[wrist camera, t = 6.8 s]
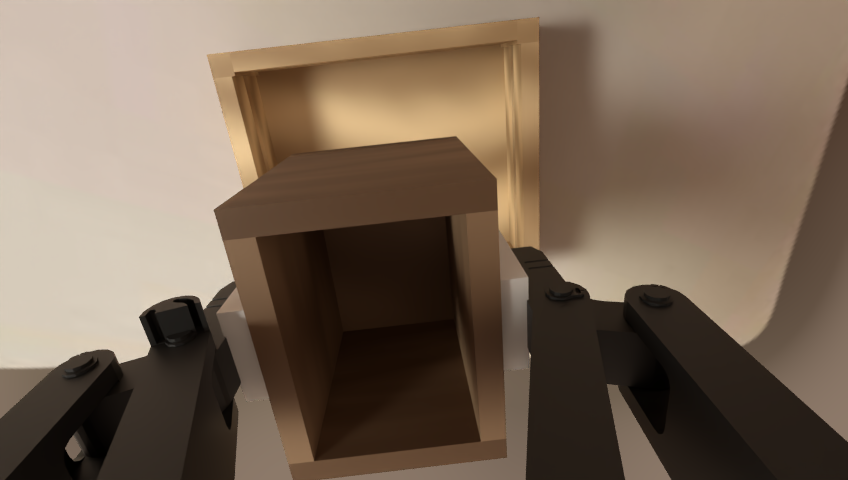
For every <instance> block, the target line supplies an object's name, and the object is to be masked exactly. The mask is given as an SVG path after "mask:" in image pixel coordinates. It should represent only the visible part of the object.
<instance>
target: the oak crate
mask: <svg viewBox="0 0 848 480" xmlns="http://www.w3.org/2000/svg"><path fill="white" fill-rule="evenodd" d="M207 57H208V61H209V65H210V68H211V72H212V75H213V79H214V83H215V86H216V90H217V94H218V97H219V101H220V104H221V108H222V112H223V115H224V119H225V123H226V126H227V130H228V133H229V137H230V141H231V144H232V148H233V152H234V155H235V159H236V162H237V166H238V170H239V173H240V177H241V181H242V184H243V188H245V187H247V186H248V185H250V184H251V183H252V182H254V181H255V180H257V179H258V178H260V177H261V176H262V175H264V174H265V173H267V172H268V171H269V170H271V169H272V168H274V167H275V166H276V165H278V164H279V163H281V162H282V161H283V160H285V159H286V158H288V157H289V156H291V155H292V154H295V153H304V152H314V151H323V150H332V149H341V148H351V147H360V146H369V145H378V144H387V143H397V142H406V141H415V140H424V139H434V138H443V137H452V136H457V138H458V139H459V140H460V141H461V142H462V143H463V144H464V145H465V146H466V147H467V148H468V149H469V150H470V151H471V152H472V153H473V154H474V155H475V156H476V158H477V159H478V160H479V161H480V162H481V163H482V164H483V165H484V166H485V167H486V168H487V169H488V170H489V171H490V172H491V173H492V174H493V175H494V176H495V177H496V179H497V198H498V225H499V230H500V232H501V234H502V235H503V237H504V238H505V240H506V242H507V243H508V245H509V247H510V248H519V247H528V246H532V247H534V248H536V249H538V250H539V17H536V18H527V19H518V20H510V21H501V22H492V23H483V24H474V25H465V26H456V27H448V28H439V29H430V30H421V31H412V32H403V33H395V34H386V35H377V36H368V37H359V38H350V39H341V40H333V41H324V42H315V43H306V44H297V45H288V46H280V47H271V48H262V49H253V50H244V51H235V52H227V53H218V54H209V55H207Z"/></svg>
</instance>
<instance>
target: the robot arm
mask: <svg viewBox="0 0 848 480" xmlns="http://www.w3.org/2000/svg"><path fill="white" fill-rule="evenodd" d="M499 253H500V280H501V308H502V336H503V363H504V371H511V370H519V369H528V368H529V352H530V354H531V367H530V389H529V413H528V437H527V461H526V462H527V463H526V480H625V477H624V472H623V467H622V461H621V456H620V451H619V446H618V440H617V436H616V430H615V425H614V420H613V414H612V409H611V404H610V399H609V394H608V388H607V384H613V385H618V388H619V390H620V392H621V394H622V396H623V397H624V399H625V401H626V402H627V404H628V406H629V408H630V409H631V411H632V413H633V415H634V416H635V418H636V420H637V421H638V423H639V425H640V426H641V428H642V430H643V432H644V433H645V435H646V437H647V439H648V440H649V442H650V444H651V445H652V447H653V449H654V451H655V452H656V454H657V456H658V458H659V459H660V461H661V463H662V464H663V466H664V468H665V470H666V471H667V473H668V475H669V476H670V478H671V480H848V442H847V441H846V440H845V439H844V438H843V437H841V436H840V435H839V434H838V433H837V432H836V431H835V430H834V429H833V428H831V427H830V426H829V425H828V424H827V423H826V422H825V421H824V420H823V419H821V418H820V417H819V416H818V415H817V414H816V413H815V412H814V411H813V410H811V409H810V408H809V407H808V406H807V405H806V404H805V403H804V402H802V401H801V400H800V399H799V398H798V397H797V396H796V395H795V394H794V393H792V392H791V391H790V390H789V389H788V388H787V387H786V386H785V385H784V384H782V383H781V382H780V381H779V380H778V379H777V378H776V377H775V376H774V375H773V374H771V373H770V372H769V371H768V370H767V369H766V368H765V367H764V366H762V365H761V364H760V363H759V362H758V361H757V360H756V359H755V358H754V357H753V356H751V355H750V354H749V353H748V352H747V351H746V350H745V349H744V348H743V347H741V346H740V345H739V344H738V343H737V342H736V341H735V340H734V339H733V338H731V337H730V336H729V335H728V334H727V333H726V332H725V331H724V330H723V329H721V328H720V327H719V326H718V325H717V324H716V323H715V322H714V321H713V320H711V319H710V318H709V317H708V316H707V315H706V314H705V313H704V312H703V311H701V310H700V309H699V308H698V307H697V306H696V305H695V304H694V303H693V302H691V301H690V300H689V299H688V298H687V297H686V296H684V295H683V294H681V293H680V292H678V291H676V290H673V289H671V288H668V287H666V286H662V285H660V286H658V285H655V284H651V285H639V286H634V287H632V288H630V289H628V290H627V291H626V293H625V298H624V302H607V301H598V300H593V299H590V295H589V293H588V291H587V290H586V289H585V288H583V287H582V286H580V285H578V284H574V283H571V282H565V281H564V279H563V278H562V277H561V275H560V274H559V273H558V272H557V270H556V269H555V268H554V267H553V265H552V264H551V263H550V261H548V259H547V257H546V256H545V255H544V254H543V252H542V251H540V250H538V249H536V248H534V247H532V246H528V247H519V248H510V247H509V245H508V243H507V242H506V240H505V238H504V237H503V235H502V234H501V232H500V230H499ZM212 300H213V301H211V302H210V303H209V304H208V305H207V306H206V307H207V308H205V309H204V310H203V308H202V305H201V302H200V299H199V298H198V297H195V296H180V297H175V298H171V299H168V300H165V301H162V302H160V303H158V304H156V305H153V306H152V307H150V308H149V309H147V310H145V311H144V312H143V313H142V314H141V315H140V317H139V318H140V321H141V323H142V326H143V328H144V330H145V333H146V335H147V337H148V340H149V342H150V345H151V348H150V350H149V353H148V355H147V356H145V357H142V358H138V359H135V360H131V361H128V362H124V363H121V364H119V363H118V361H117V358H116V356H115V354H114V352H113V351H110V350H96V351H91V352H85V353H82V354H80V355H76V356H74V357H72V358H70V359H69V360H68V361H66V362H64V363H62V364H61V365H59V366H58V367H57V368H55V369H54V370H53V371H51V372H50V373H49V374H48V375H47V376H46V377H45V378H44V379H43V380H42V381H40V382H39V383H38V384H37V385H36V386H35V387H34V388H33V389H32V390H31V391H30V392H29V393H28V394H27V395H25V397H24V398H22V399H21V400H20V401H19V402H18V403H17V404H16V405H15V406H14V407H13V408H11V409H10V410H9V411H8V412H7V413H6V414H5V415H4V416H3V417H2V418H1V419H0V480H234V478H235V477H234V476H235V461H236V460H235V459H236V444H237V427H238V408H237V405H236V402H235V399H234V396H235V394H236V392H237V390H238V388H239V386H240V385H241V388H242V391H243V394H244V397H245V400H246V402H247V401H256V400H264V399H269V396H268V393H267V389H266V386H265V382H264V379H263V376H262V372H261V369H260V365H259V362H258V359H257V355H256V352H255V348H254V345H253V341H252V338H251V335H250V331H249V328H248V324H247V321H246V318H245V314H244V311H243V307H242V304H241V301H240V297H239V294H238V290H237V287H236V284H235V282H232V283H230V284H229V285H227V286H226V287H224V288H222V289H221V290H220V291H219V292H218V293H217V294H216V295H215V297H214V298H213V299H212ZM73 435H74V437H75V439H76V441H77V442H78V444H79V446H80V448H81V452H80V453H79V454H78V456H77V457H76V458H75V459H74V460H72V459H71V458H70V457H69V455H68V454H67V452H66V450H65V447H66V445H67V443H68V442H69V440H70V438H71V437H72V436H73Z"/></svg>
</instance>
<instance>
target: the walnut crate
mask: <svg viewBox="0 0 848 480" xmlns="http://www.w3.org/2000/svg"><path fill="white" fill-rule="evenodd" d="M214 212H215V216H216V219H217V222H218V226H219V229H220V233H221V236H222V239H223V243H224V246H225V250H226V253H227V256H228V260H229V263H230V267H231V270H232V273H233V277H234V280H235V284H236V287H237V290H238V294H239V297H240V301H241V304H242V307H243V311H244V314H245V318H246V321H247V324H248V328H249V331H250V335H251V338H252V341H253V345H254V348H255V352H256V355H257V359H258V362H259V365H260V369H261V372H262V376H263V379H264V382H265V386H266V389H267V393H268V396H269V399H270V403H271V406H272V410H273V413H274V416H275V420H276V423H277V426H278V430H279V433H280V437H281V440H282V443H283V447H284V450H285V454H286V457H287V460H288V464H289V467H290V471H291V474H292V478H293V480H320V479H329V478H337V477H345V476H355V475H363V474H372V473H380V472H388V471H397V470H405V469H414V468H421V467H431V466H439V465H448V464H455V463H464V462H473V461H481V460H490V459H498V458H506V457H507V446H506V419H505V391H504V363H503V336H502V308H501V280H500V253H499V225H498V198H497V179H496V177H495V176H494V175H493V174H492V173H491V172H490V171H489V170H488V169H487V168H486V167H485V166H484V165H483V164H482V163H481V162H480V161H479V160H478V159H477V158H476V156H475V155H474V154H473V153H472V152H471V151H470V150H469V149H468V148H467V147H466V146H465V145H464V144H463V143H462V142H461V141H460V140H459V139H458V138H457V136H452V137H443V138H434V139H424V140H415V141H406V142H397V143H387V144H378V145H369V146H360V147H351V148H341V149H332V150H323V151H314V152H304V153H295V154H292V155H291V156H289V157H288V158H286V159H285V160H283V161H282V162H281V163H279V164H278V165H276V166H275V167H274V168H272V169H271V170H269V171H268V172H267V173H265V174H264V175H262V176H261V177H260V178H258V179H257V180H255V181H254V182H252V183H251V184H250V185H248V186H247V187H245V188H244V189H243V190H241V191H240V192H238V193H237V194H236V195H234V196H233V197H231V198H230V199H228V200H227V201H226V202H224V203H223V204H221V205H220V206H219V207H217V208H216V209H214Z"/></svg>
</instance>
